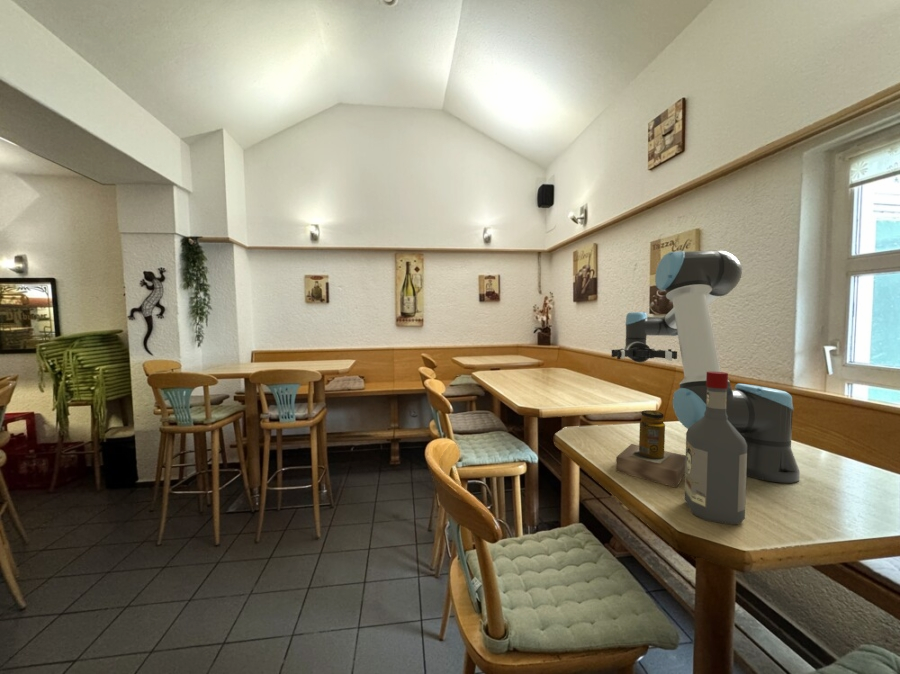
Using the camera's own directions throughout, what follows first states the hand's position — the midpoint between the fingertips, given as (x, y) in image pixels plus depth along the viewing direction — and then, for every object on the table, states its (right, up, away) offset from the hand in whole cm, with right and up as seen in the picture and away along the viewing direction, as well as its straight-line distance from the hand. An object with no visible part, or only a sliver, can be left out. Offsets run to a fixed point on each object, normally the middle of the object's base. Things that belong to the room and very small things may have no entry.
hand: (646, 355), depth 115 cm
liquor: (-9, -32, -41) cm, 52 cm away
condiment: (-10, -27, -19) cm, 35 cm away
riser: (-10, -30, -19) cm, 37 cm away
